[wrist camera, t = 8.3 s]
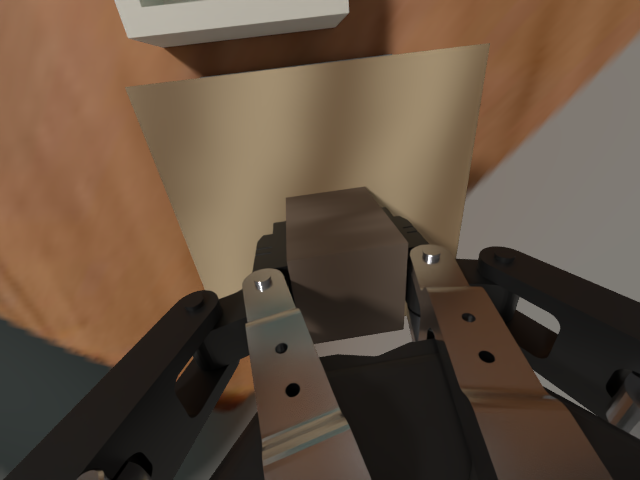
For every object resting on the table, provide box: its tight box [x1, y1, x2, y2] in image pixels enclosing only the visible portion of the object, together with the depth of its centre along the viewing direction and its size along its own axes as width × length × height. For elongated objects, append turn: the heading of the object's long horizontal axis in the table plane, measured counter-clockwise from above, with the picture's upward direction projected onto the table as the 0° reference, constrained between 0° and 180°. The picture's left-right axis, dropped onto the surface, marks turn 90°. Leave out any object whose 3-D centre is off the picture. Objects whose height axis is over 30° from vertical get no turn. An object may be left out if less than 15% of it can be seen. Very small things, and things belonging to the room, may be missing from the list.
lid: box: [125, 43, 490, 344], centre depth 12 cm, size 13×13×6 cm
